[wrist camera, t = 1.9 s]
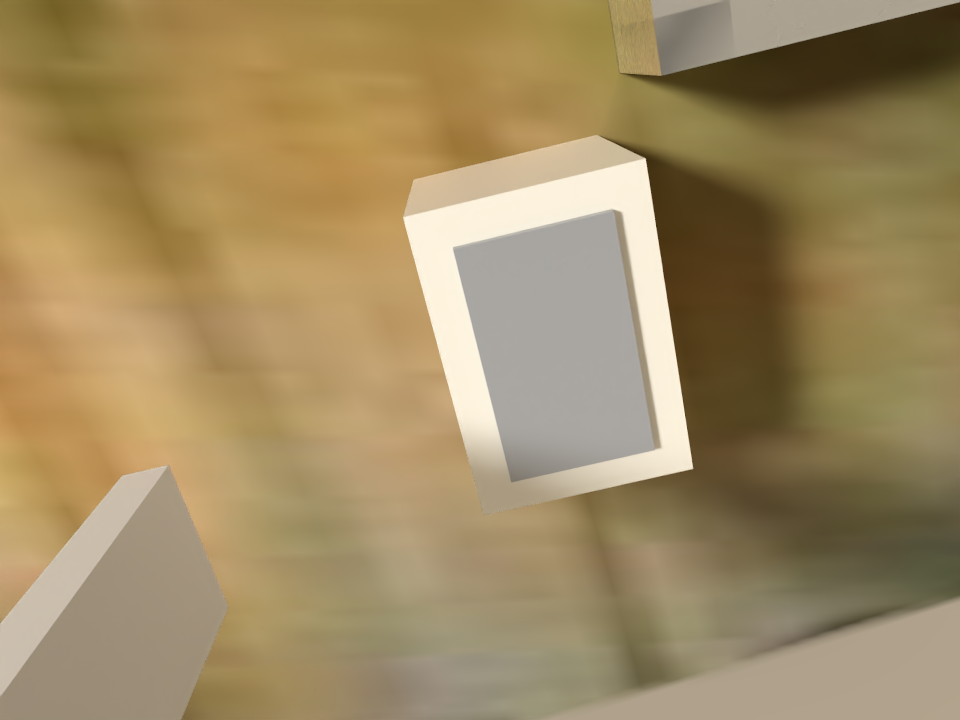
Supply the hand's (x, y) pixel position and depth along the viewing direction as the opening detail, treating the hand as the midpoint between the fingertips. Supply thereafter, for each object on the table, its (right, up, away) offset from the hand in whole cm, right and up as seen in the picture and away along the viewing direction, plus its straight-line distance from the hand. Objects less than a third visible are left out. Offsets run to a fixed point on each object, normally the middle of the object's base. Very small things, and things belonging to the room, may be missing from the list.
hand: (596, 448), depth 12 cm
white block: (0, +3, +8) cm, 9 cm away
